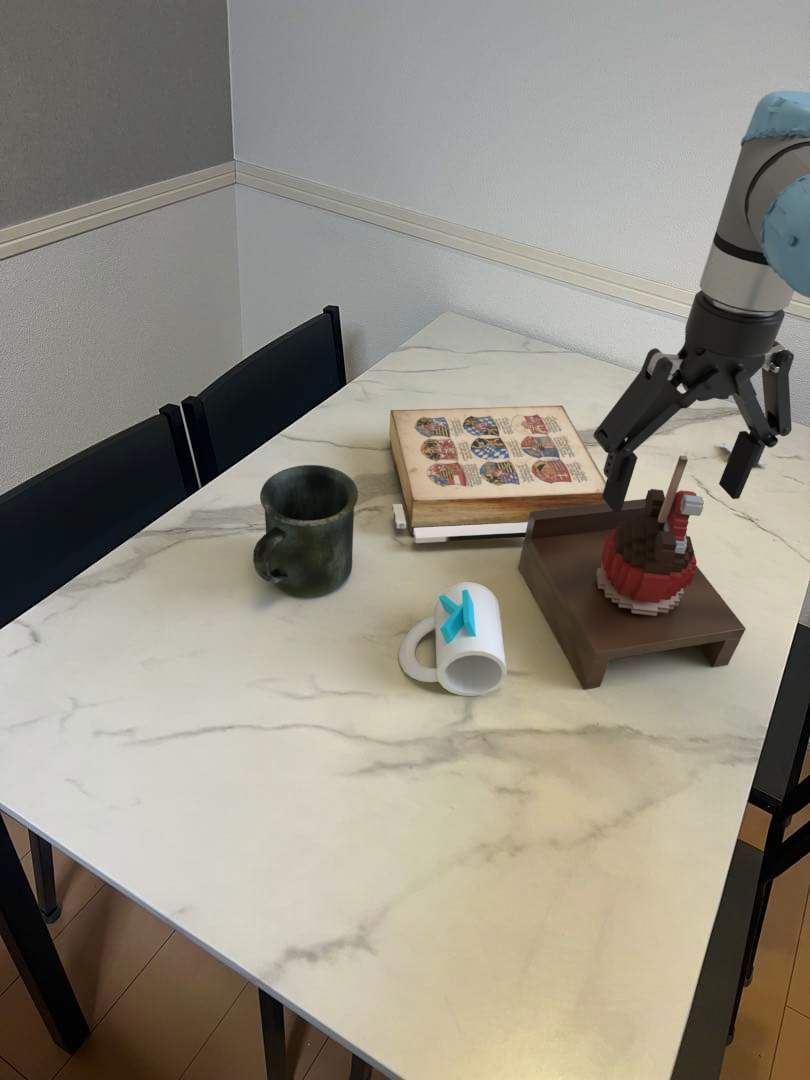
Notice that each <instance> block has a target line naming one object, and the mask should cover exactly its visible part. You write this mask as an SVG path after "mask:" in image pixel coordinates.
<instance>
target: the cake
mask: <svg viewBox="0 0 810 1080" xmlns="http://www.w3.org/2000/svg"><path fill="white" fill-rule="evenodd" d="M688 461H689V460H688V457H687V455H679V457H678V460H677V462H676V466H675V468H674V472H673V474H672V476H671V480H670V483H669V486H668V488H667V491H666V495H665V493H664V490H663V489H655V488H650V489H648V490H647V493H646V496H645V498H644V499H645V501H646V505H645V508H644V509H645V513H646V514H642V515H640V516H637V518H633V517H628V518H626V520H625V521H621V522H620V526H619V527H617V528H616V530H612V531H611V534H610V537H607V539H606V542H605V545H604V548H603V552H602V564H601V568H597V572H596V574H597V582H598V588H600V589H604V591H605V597H608V598H612V602H615V603H618V605H619V607H622V608H630V609H631V612H632V613H637V614H645V615H653V616H657V613H658V612H664V613H668V611H669V609H673V608H674V606H678V605H679V602H680V600H679V598H682V597H683V595H684V592H683V588H686V585H691V582H692V580H693V577H694V575H695V572H694V571H695V569H696V566H697V563H698V562H697V559H696V555H695V550H694V547H693V543H692V539H691V536H688V535H687V531H688V525H689V519H690V516H694V517H695V516H696V517H700V516H701V515H702V513H703V509H704V504H705V502H704V499H703V496H701V495H697V493H696V492H694V491H692V490H681V489H680V490H678V488H679V486H680V483H681V480H682V477H683V476H684V475H683V474H684V472H685V469H686V467H687V464H688Z"/></svg>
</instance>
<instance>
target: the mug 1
mask: <svg viewBox="0 0 810 1080" xmlns="http://www.w3.org/2000/svg"><path fill="white" fill-rule="evenodd" d="M358 499H359V490H358V487H357V485H356V483H355V481H354V480H353V479H352V478H351V477H350V476H349V475H348V474H347V473H344V472H343V471H341V470H338V469H336V468H333V467H330V466H327V465H326V466H325V465H320V464H303V465H302V464H301V465H296V466H291V467H288V468H285V469H283V470H282V469H281V470H280V471H278V472H276V473H275V474H273V475H272V476H270V477H269V478H268V479H267V480H265V482H264V484H263V485H262V488H261V490H260V494H259V501H260V503H261V506H262V508H263V510H264V524H265V534H264V535H263V536H262V537H261V538H259V540H258V541H257V542H256V544H255V546H254V549H253V556H252V562H253V566H254V570H255V572H256V573H257V575H258V576H259V577H260V578H261V579H263V580H264V581H266V582H268V583H271V584H274V585H275V586H277V587H278V588H279V589H280V590H281V591H283V592H285V593H287V594H289V595H292V596H296V597H302V598H316V597H321V596H324V595H328V594H330V593H332V592H334V591H336V590H337V589H339V588H340V587H341V586H342V585H344V584H345V582H346V581H347V580H348V578H349V577H350V575H351V573H352V569H353V551H354V550H353V546H354V516H355V506H356V504H357V502H358Z"/></svg>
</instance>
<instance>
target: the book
mask: <svg viewBox="0 0 810 1080" xmlns="http://www.w3.org/2000/svg"><path fill="white" fill-rule="evenodd" d="M388 435H389V438H390V439H389V447H390V453H391V457H392V462H393V467H394V470H397V472H398V477H399V482H400V486H401V489H402V490H401V491H402V494H403V498H404V502H405V506H406V516H405V511H404V507H403V504H402V503H392V506H391V507H392V513H393V517H394V523H395V527H396V529H407V525H408V529H409V532H410V534H411V535H413V538H414V542H415V544H423V543H440V542H441V543H443V542H444V543H445V542H460V541H461V542H462V541H463V542H464V541H481V540H499V539H500V540H501V539H517V538H519V539H521V538H525V534H526V529H527V524H528V520H529V515H530V512H533V511H542V510H550V509H559V508H568V507H577V506H586V505H595V504H604V503H607V502H606V501H605V500H604V498H603V497H602V495H603V492H604V488H605V485H606V480H605V478H604V476H603V474H602V473H601V471H600V469H599V468H598V465H597V463H596V462H595V461H594V459H593V457H592V455H591V454H590V452H589V449H588V447H586V444H585V443H584V441H583V439H582V437H581V436H580V434H579V432H578V431H577V428H576V427H575V425H574V423H573V422H572V420H571V418H570V416H569V414H568V413H567V411H566V409H565V408H564V405H535V406H534V405H533V406H532V405H531V406H528V405H527V406H497V407H496V406H495V407H494V406H493V407H464V408H461V407H460V408H459V407H458V408H425V409H423V408H422V409H391V410H390V413H389V431H388Z"/></svg>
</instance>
